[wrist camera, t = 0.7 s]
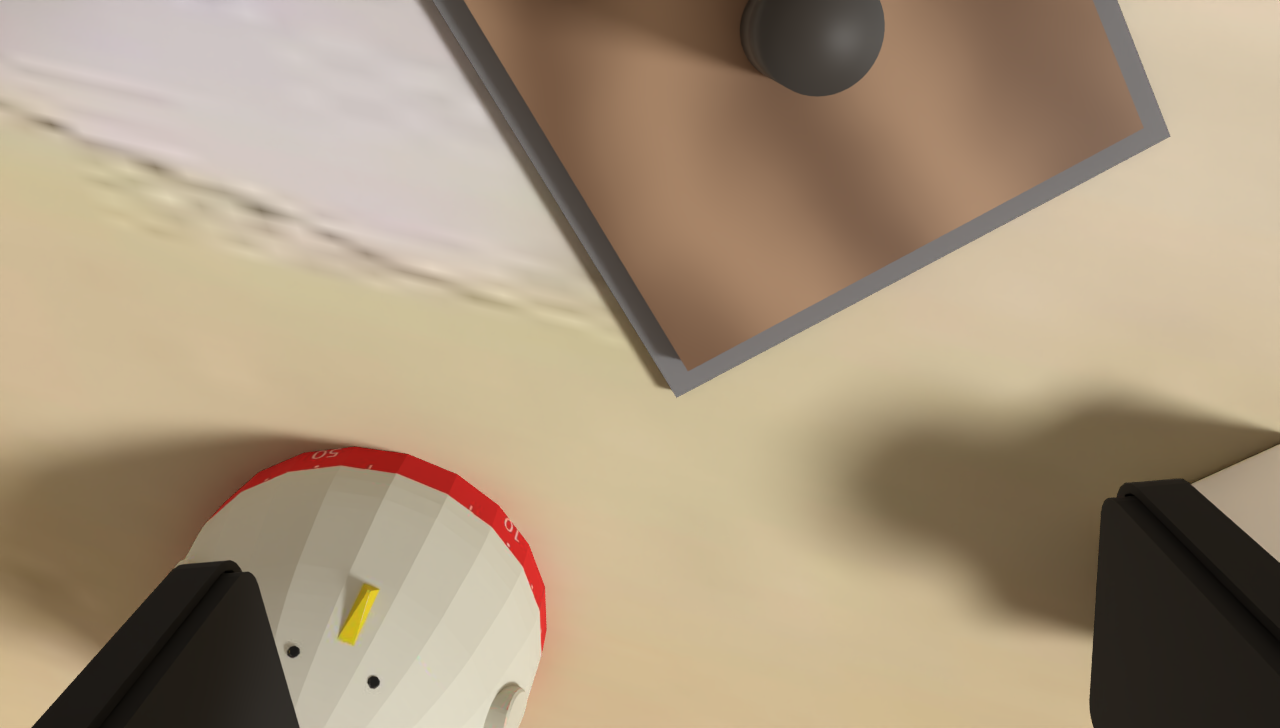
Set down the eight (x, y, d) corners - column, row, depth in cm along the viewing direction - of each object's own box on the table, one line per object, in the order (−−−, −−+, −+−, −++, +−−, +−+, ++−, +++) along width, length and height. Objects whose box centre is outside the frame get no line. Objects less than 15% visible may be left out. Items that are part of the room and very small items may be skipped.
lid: (915, -405, 25) (1002, -554, 19) (1128, 124, 30) (1259, 154, 23) (426, -73, 28) (354, -100, 22) (687, 361, 33) (692, 447, 26)
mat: (927, -458, 25) (933, -469, 25) (1161, 134, 30) (1170, 136, 30) (385, -84, 29) (379, -86, 28) (676, 391, 34) (676, 397, 33)
